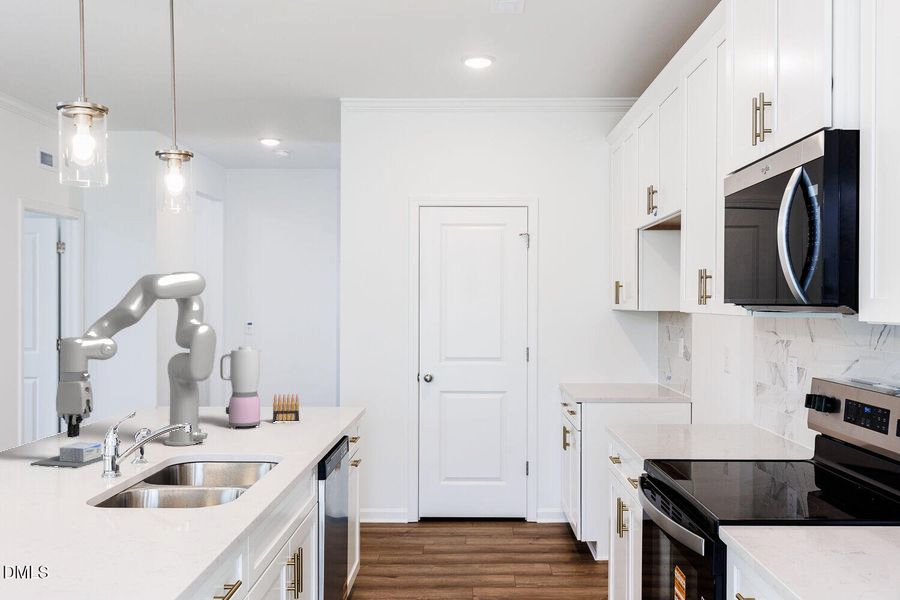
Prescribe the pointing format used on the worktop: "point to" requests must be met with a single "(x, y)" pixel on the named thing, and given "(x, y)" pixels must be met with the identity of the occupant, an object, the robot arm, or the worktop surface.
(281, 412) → the ammunition clip
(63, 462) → the mat
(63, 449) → the medicine box
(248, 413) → the blender
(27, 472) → the worktop surface
